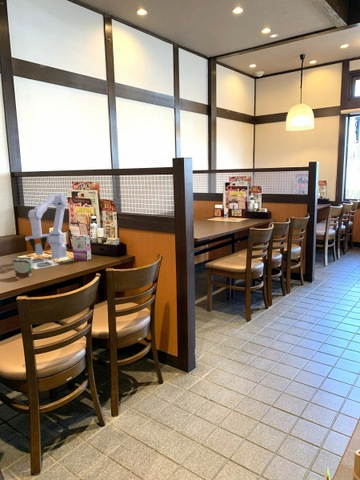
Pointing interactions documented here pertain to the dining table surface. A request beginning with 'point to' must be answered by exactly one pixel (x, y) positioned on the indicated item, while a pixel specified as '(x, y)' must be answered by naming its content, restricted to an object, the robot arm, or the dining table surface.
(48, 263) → the panel
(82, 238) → the candy bar box
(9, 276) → the dining table surface
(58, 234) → the robot arm
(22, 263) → the food container
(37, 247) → the plug
